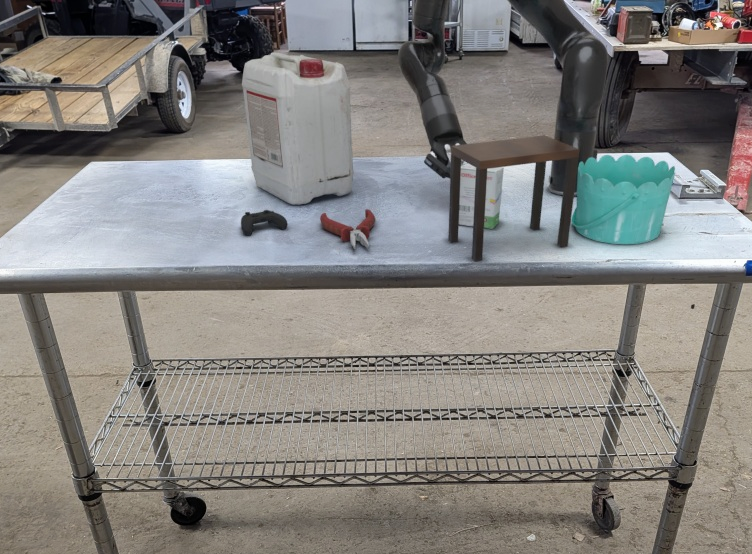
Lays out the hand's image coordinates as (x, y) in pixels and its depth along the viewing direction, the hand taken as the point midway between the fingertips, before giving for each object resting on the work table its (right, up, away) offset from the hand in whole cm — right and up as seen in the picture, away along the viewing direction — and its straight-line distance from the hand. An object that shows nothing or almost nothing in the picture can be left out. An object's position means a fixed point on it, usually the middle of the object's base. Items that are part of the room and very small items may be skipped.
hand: (462, 192), depth 155 cm
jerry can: (-37, +5, +19) cm, 42 cm away
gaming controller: (-43, -9, -4) cm, 44 cm away
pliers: (-25, -11, -8) cm, 29 cm away
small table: (+7, -14, -14) cm, 21 cm away
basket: (+30, -10, -9) cm, 33 cm away
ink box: (+3, -8, -4) cm, 9 cm away
